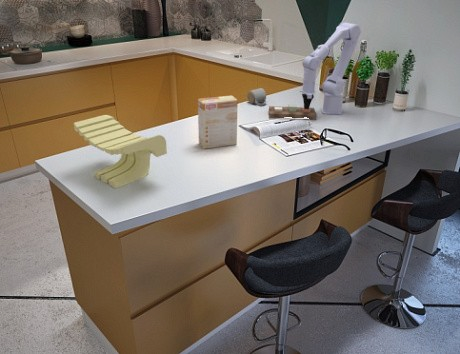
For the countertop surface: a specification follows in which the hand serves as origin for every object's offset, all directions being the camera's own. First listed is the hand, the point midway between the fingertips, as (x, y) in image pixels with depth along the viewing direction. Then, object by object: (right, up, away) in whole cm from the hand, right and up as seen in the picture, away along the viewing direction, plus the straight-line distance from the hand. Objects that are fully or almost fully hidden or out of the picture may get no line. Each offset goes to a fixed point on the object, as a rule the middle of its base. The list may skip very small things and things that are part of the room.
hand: (306, 108), depth 216 cm
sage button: (-7, -1, +1) cm, 7 cm away
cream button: (-14, -2, +2) cm, 14 cm away
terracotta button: (0, -3, +1) cm, 3 cm away
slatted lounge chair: (-76, -34, -62) cm, 104 cm away
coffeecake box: (-43, -20, -34) cm, 59 cm away
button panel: (-7, -3, +2) cm, 8 cm away
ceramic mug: (-23, +6, +20) cm, 31 cm away
